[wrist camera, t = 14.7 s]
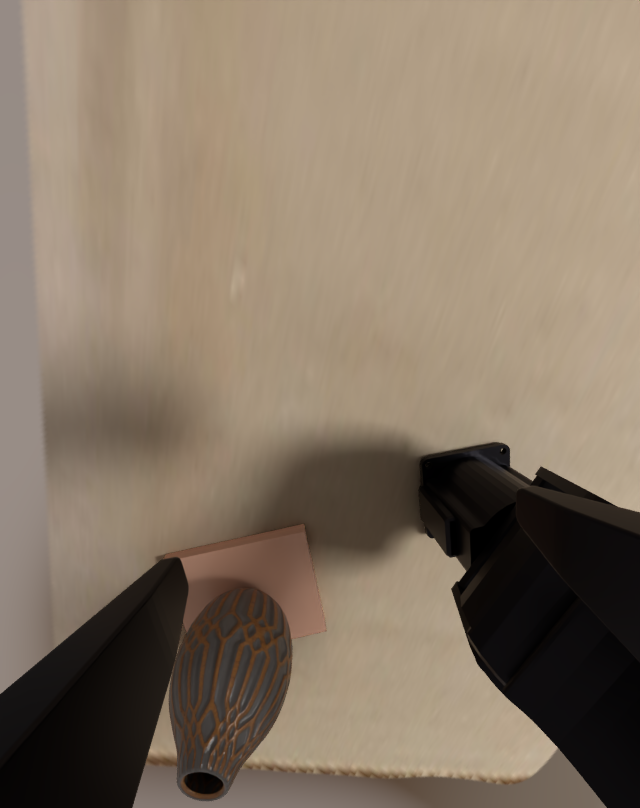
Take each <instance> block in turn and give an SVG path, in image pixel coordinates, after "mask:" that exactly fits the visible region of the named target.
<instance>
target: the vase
mask: <svg viewBox="0 0 640 808" xmlns="http://www.w3.org/2000/svg"><path fill="white" fill-rule="evenodd" d="M291 669H292V638H291V632H290V627H289V624H288V621H287V618H286V616H285V613H284V612H283V610H282V609H281V607H280V606H279V604H278V603H277V602H276V601H275V600H274V599H273V598H272V597H271V596H269V595H268V594H266V593H265V592H263V591H261V590H258V589H255V588H238V589H234V590H230V591H227V592H225V593H223V594H221V595H220V596H218V597H216V598H215V599H213V600H212V601H211V602H210V603H209V604H208V605H207V606H206V607H205V608H204V609H203V610H202V611H201V612H200V613H199V615H198V616H197V617H196V619H195V620H194V622H193V623H192V624H191V626H190V628H189V630H188V632H187V633H186V635H185V637H184V640H183V642H182V644H181V646H180V648H179V651H178V653H177V656H176V660H175V663H174V667H173V671H172V676H171V682H170V690H169V713H170V719H171V725H172V730H173V735H174V740H175V744H176V749H177V785H178V787H179V789H180V790H181V792H182V793H183V794H185V795H186V796H188V797H190V798H192V799H195V800H199V801H213V800H217V799H220V798H222V797H223V796H224V795H226V794H227V792H228V791H229V789H230V787H231V785H232V783H233V781H234V779H235V777H236V775H237V773H238V772H239V770H240V768H241V767H242V765H243V764H244V763H245V761H246V760H247V759H248V758H249V757H250V755H251V754H252V753H253V752H254V751H255V749H256V748H257V747H258V746H259V744H260V743H261V742H262V741H263V739H264V738H265V737H266V736H267V734H268V733H269V731H270V730H271V728H272V727H273V725H274V723H275V721H276V719H277V717H278V715H279V713H280V710H281V708H282V705H283V703H284V700H285V697H286V694H287V690H288V686H289V682H290V676H291Z"/></svg>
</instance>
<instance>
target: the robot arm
mask: <svg viewBox="0 0 640 808" xmlns="http://www.w3.org/2000/svg"><path fill="white" fill-rule="evenodd" d="M502 448H503V450H502V451H501V452H500V450H501V449H502ZM428 462H430V464H429V465H428V466H425V465H426V463H428ZM420 474H421V486H420V488H419V490H418V491H419V503H420V515H421V520H422V521H423V522H424V525H425V532H426V534H427V535H428V536H429V537H430V538H435V540H436V541H437V542H438V544H439V545H440V547H441V548H442V550H443V551H444V552H445V554H446V555H447V556H449V557H450V558H451V557H456V558H457V559H458V560H459V562H460V563H461V564H462V566H463V567H464V568H465V570H466V571H467V572H466V573H465V574H464V576H463V577H462V578H461V580H460V581H459V582H458V581H457V582H456V583H455V584H454V586H453V587H452V588H451V590H452V593H453V596H454V599H455V602H456V605H457V608H458V611H459V614H460V617H461V621H462V624H463V627H464V630H465V633H466V636H467V639H468V642H469V645H470V648H471V650H472V652H473V655H474V656H475V659H476V662H477V664H478V665H479V667H480V668H481V669H482V670H483V671H484V672H485V673H486V675H487V676H488V677H489V679H490V680H491V681H492V682H493V683H494V685H495V686H496V687H497V688H498V689H499V690H500V691H501V692H502V693H503V694H504V695H505V696H506V697H507V698H508V699H509V700H510V701H511V702H512V703H513V704H514V705H516V706H517V707H518V708H519V709H520V710H521V711H523V712H524V713H525V714H526V715H527V716H528V717H529V718H530V719H531V720H532V721H533V722H534V723H535V724H536V725H537V726H538V727H539V728H540V729H541V730H542V731H543V732H544V733H545V734H546V735H547V736H548V737H549V738H550V740H551V741H552V742H553V743H554V744H555V745H556V746H557V747H558V748H559V749H560V751H561V752H562V753H563V754H564V755H565V757H566V758H567V759H568V760H569V761H570V762H571V764H572V765H573V766H574V767H575V768H576V770H577V771H578V772H579V773H580V775H581V776H582V777H583V778H584V780H585V781H586V782H587V783H588V784H589V786H590V787H591V788H592V790H593V791H594V792H595V793H596V795H597V796H598V797H599V798H600V800H601V801H602V802H603V803H604V805H605V806H606V807H607V808H640V512H636V511H632V510H628V509H624V508H620V507H617V506H615V505H613V504H612V503H610V502H608V501H606V500H604V499H602V498H600V497H599V496H597V495H595V494H593V493H591V492H589V491H587V490H585V489H583V488H582V487H580V486H578V485H576V484H574V483H572V482H570V481H568V480H566V479H564V478H562V477H560V476H558V475H557V474H555V473H553V472H551V471H549V470H547V469H545V468H543V467H540V468H539V470H538V471H537V473H536V474H535V475H537V476H536V478H535V479H534V480H533V481H532V480H530V479H528V478H527V477H525V476H524V475H522V474H520V473H519V472H517V471H516V470H514V469H512V468H511V467H510V449H509V447H508V446H507V445H505V444H503V443H496V444H491V445H485V446H480V447H475V448H469V449H464V450H459V451H453V452H448V453H443V454H437V455H432V456H427V457H424V458H422V459H421V461H420ZM188 592H189V585H188V581H187V577H186V574H185V571H184V568H183V565H182V562H181V559H180V558H179V557H172V558H166V559H162V560H160V561H159V562H158V563H157V564H155V565H154V566H153V567H152V568H151V569H149V570H148V571H147V572H146V573H145V574H143V575H142V576H141V577H140V578H139V579H137V580H136V581H135V582H134V583H133V584H132V585H130V586H129V587H128V588H127V589H126V590H124V591H123V592H122V593H121V594H120V595H118V596H117V597H116V598H115V599H114V600H112V601H111V602H110V603H109V604H108V605H106V606H105V607H104V608H103V609H102V610H100V611H99V612H98V613H97V614H96V615H94V616H93V617H92V618H91V619H90V620H88V621H87V622H86V623H85V624H84V625H82V626H81V627H80V628H79V629H78V630H76V631H75V632H74V633H73V634H72V635H70V636H69V637H68V638H67V639H66V640H65V641H63V642H62V643H61V644H60V645H59V646H57V647H56V648H55V649H54V650H53V651H51V652H50V653H49V654H48V655H47V656H45V657H44V658H43V659H42V660H41V661H39V662H38V663H37V664H36V665H35V666H33V667H32V668H31V669H30V670H29V671H28V672H26V673H25V674H24V675H23V676H22V677H20V678H19V679H18V680H17V681H15V682H14V683H13V684H12V685H11V686H10V687H8V688H7V689H6V690H5V691H4V692H3V693H1V694H0V808H132V807H133V804H134V800H135V797H136V793H137V790H138V786H139V783H140V780H141V776H142V773H143V769H144V766H145V763H146V759H147V756H148V752H149V749H150V745H151V742H152V739H153V735H154V732H155V728H156V725H157V722H158V718H159V715H160V711H161V708H162V704H163V701H164V698H165V694H166V691H167V687H168V684H169V681H170V677H171V674H172V670H173V666H174V663H175V658H176V654H177V649H178V644H179V639H180V634H181V629H182V624H183V618H184V613H185V608H186V603H187V598H188Z"/></svg>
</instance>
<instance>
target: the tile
mask: <svg viewBox="0 0 640 808" xmlns="http://www.w3.org/2000/svg"><path fill="white" fill-rule="evenodd" d="M172 557H179V558H180V559H181V562H182V565H183V568H184V571H185V574H186V577H187V581H188V585H189V592H188V598H187V603H186V608H185V613H184V618H183V624H184V627H185V629H186V632H188V630H189V628H190V626H191V624H192V623H193V622H194V620H195V619H196V617H197V616H198V615H199V613H200V612H201V611H202V610H203V609H204V608H205V607H206V606H207V605H208V604H209V603H210V602H211V601H212V600H213V599H215V598H216V597H218V596H220V595H221V594H223V593H225V592H227V591H230V590H234V589H238V588H255V589H258V590H261V591H263V592H265V593H266V594H268V595H269V596H271V597H272V598H273V599H274V600H275V601H276V602H277V603H278V604H279V606H280V607H281V609H282V610H283V612H284V613H285V616H286V618H287V621H288V624H289V627H290V632H291V638H292V639H295V638H299V637H304V636H308V635H312V634H316V633H321V632H325V631H327V630H326V622H325V617H324V612H323V607H322V603H321V598H320V594H319V589H318V585H317V580H316V576H315V571H314V567H313V562H312V557H311V553H310V548H309V544H308V539H307V535H306V530H305V526H304V524H301V525H296V526H292V527H287V528H283V529H278V530H273V531H269V532H264V533H260V534H255V535H251V536H246V537H242V538H237V539H232V540H228V541H223V542H219V543H214V544H210V545H205V546H201V547H196V548H191V549H187V550H182V551H178V552H173V553H169V554H166V555H165V557H164V559H166V558H172Z"/></svg>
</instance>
